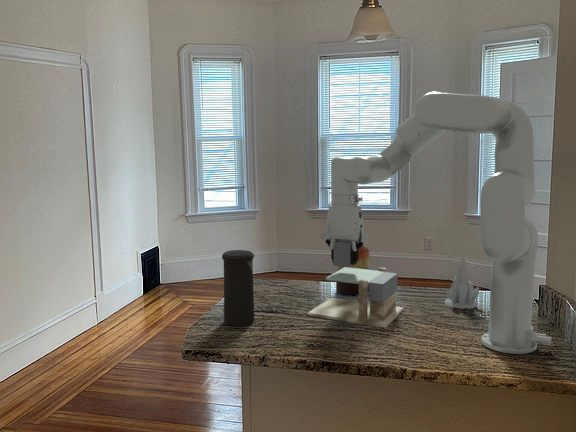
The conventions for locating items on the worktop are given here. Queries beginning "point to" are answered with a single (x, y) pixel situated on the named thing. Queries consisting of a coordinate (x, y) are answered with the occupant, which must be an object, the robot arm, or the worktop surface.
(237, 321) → the container
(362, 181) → the robot arm
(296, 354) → the worktop surface
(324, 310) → the frame
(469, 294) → the crystal
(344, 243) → the basalt block
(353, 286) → the vase
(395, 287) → the trapdoor
